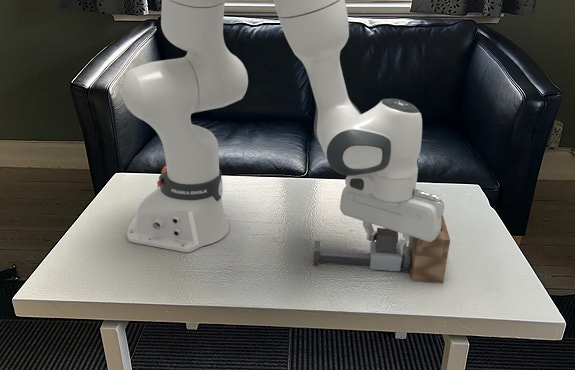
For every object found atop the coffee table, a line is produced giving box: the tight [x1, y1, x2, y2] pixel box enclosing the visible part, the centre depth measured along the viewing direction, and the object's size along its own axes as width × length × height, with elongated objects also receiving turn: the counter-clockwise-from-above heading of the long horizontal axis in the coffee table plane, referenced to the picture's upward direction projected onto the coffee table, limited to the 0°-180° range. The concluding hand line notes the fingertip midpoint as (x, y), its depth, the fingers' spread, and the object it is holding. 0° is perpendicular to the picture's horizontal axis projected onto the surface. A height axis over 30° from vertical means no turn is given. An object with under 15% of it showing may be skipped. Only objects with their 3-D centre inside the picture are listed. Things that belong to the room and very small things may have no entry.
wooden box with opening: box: [407, 214, 451, 284], centre depth 113 cm, size 6×10×10 cm, turn 174°
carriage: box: [369, 227, 402, 272], centre depth 114 cm, size 6×5×8 cm
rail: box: [312, 240, 411, 273], centre depth 115 cm, size 19×4×4 cm, turn 84°
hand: (386, 244), depth 113 cm, fingers closed on carriage, 5 cm apart
